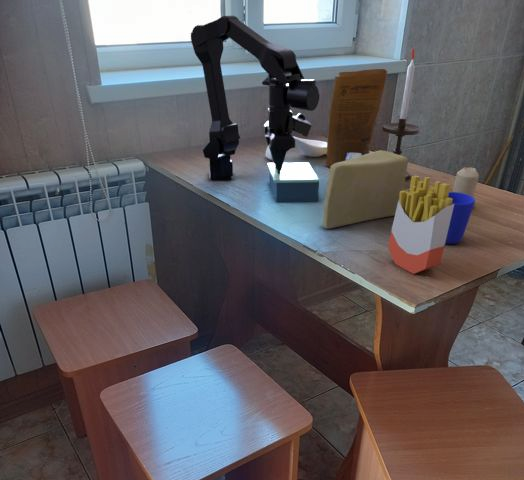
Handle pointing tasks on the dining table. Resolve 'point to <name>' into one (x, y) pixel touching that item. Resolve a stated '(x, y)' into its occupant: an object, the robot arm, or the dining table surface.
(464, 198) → the mug
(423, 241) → the french fries container
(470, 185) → the candle
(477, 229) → the dining table surface
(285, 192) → the lunchbox
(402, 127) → the candlestick
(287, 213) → the dining table surface
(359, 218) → the cheese
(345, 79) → the pancake mix bag
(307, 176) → the lunchbox lid
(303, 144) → the spoon rest
